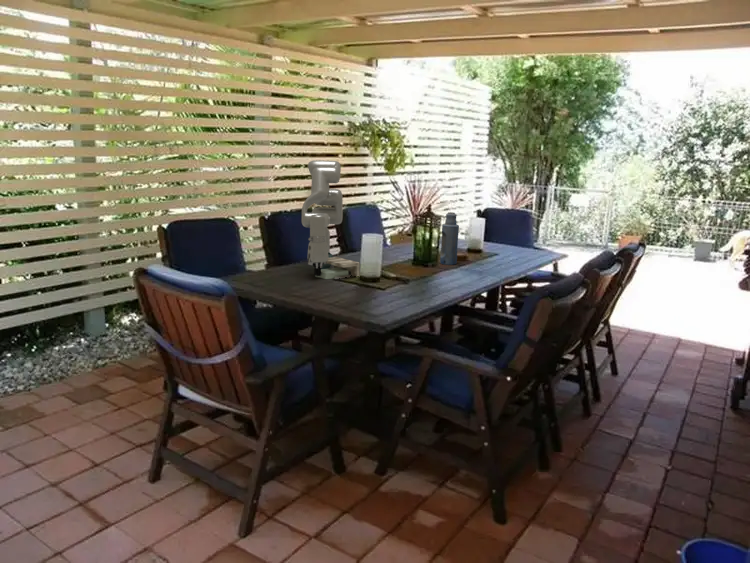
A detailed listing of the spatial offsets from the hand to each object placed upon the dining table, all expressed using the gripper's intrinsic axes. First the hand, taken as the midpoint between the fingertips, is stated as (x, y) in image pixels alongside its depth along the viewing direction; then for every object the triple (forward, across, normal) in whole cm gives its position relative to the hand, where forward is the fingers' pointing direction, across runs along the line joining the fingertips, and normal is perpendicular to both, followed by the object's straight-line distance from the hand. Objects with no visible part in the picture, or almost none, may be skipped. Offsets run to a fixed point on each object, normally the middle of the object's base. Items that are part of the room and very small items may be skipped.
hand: (317, 275), depth 298 cm
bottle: (+1, +87, -10) cm, 87 cm away
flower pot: (+1, +15, +16) cm, 22 cm away
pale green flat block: (+1, +9, 0) cm, 9 cm away
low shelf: (+1, +13, 0) cm, 13 cm away
